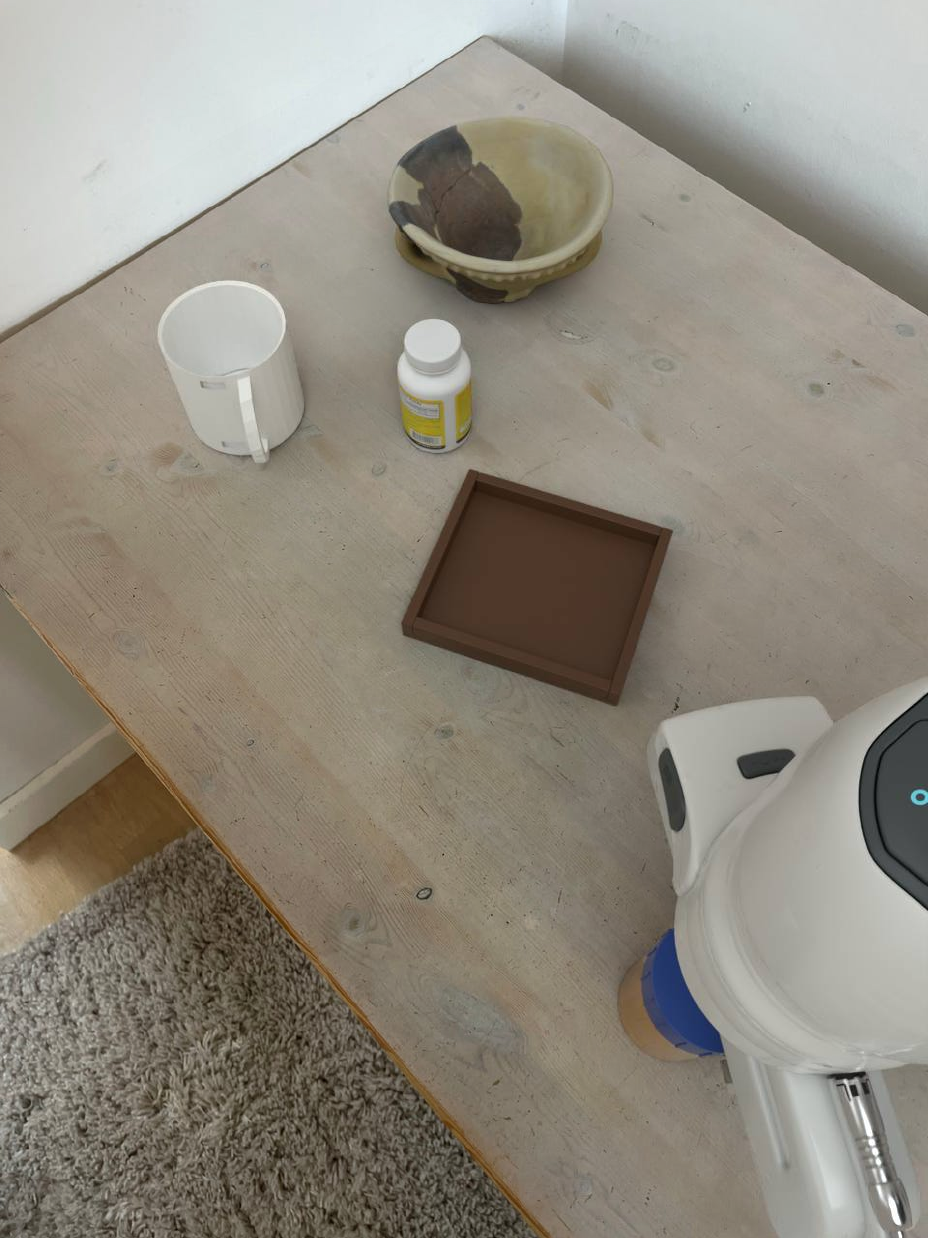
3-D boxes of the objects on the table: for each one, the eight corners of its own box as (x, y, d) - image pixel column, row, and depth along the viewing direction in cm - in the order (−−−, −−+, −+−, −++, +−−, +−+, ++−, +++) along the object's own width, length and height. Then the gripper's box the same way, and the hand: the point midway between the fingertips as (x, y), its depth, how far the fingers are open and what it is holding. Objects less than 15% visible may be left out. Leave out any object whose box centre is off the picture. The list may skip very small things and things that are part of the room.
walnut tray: (668, 544, 72) (673, 529, 70) (616, 706, 66) (620, 695, 64) (469, 484, 74) (469, 468, 73) (402, 635, 69) (401, 622, 67)
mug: (190, 372, 79) (158, 286, 71) (302, 361, 80) (283, 274, 72) (190, 495, 74) (155, 417, 66) (310, 482, 75) (290, 404, 66)
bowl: (607, 211, 88) (622, 114, 79) (589, 366, 80) (604, 276, 71) (413, 192, 89) (408, 94, 80) (376, 342, 81) (366, 251, 72)
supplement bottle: (457, 392, 78) (455, 302, 70) (482, 443, 76) (483, 356, 67) (393, 411, 78) (383, 323, 69) (416, 464, 75) (409, 379, 67)
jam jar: (730, 974, 59) (789, 944, 48) (705, 1078, 56) (762, 1071, 45) (633, 938, 60) (670, 901, 49) (605, 1039, 57) (637, 1023, 46)
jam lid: (775, 951, 50) (795, 941, 47) (749, 1077, 48) (767, 1075, 45) (658, 908, 51) (670, 896, 48) (625, 1029, 49) (635, 1024, 46)
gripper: (1023, 1268, 29) (855, 1220, 42) (803, 657, 38) (718, 767, 51) (823, 1312, 29) (712, 1250, 41) (648, 682, 38) (600, 786, 50)
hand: (715, 980), depth 46 cm, fingers open, 7 cm apart
